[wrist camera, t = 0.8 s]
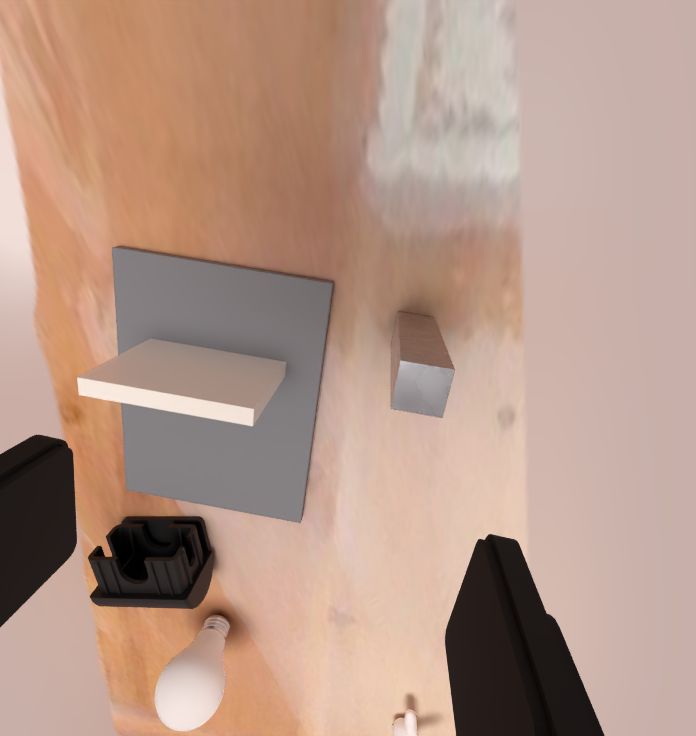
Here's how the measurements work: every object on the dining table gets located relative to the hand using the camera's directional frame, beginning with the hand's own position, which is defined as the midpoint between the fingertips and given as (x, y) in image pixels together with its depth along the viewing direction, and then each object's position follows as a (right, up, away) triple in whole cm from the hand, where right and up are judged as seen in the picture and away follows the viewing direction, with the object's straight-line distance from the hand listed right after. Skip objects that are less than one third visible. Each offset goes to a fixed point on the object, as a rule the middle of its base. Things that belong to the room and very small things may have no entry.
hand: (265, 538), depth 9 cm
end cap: (-18, -15, +36) cm, 43 cm away
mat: (-10, +1, +29) cm, 31 cm away
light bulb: (-13, -25, +40) cm, 49 cm away
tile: (-9, +5, +27) cm, 29 cm away
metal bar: (+7, +7, +25) cm, 27 cm away
